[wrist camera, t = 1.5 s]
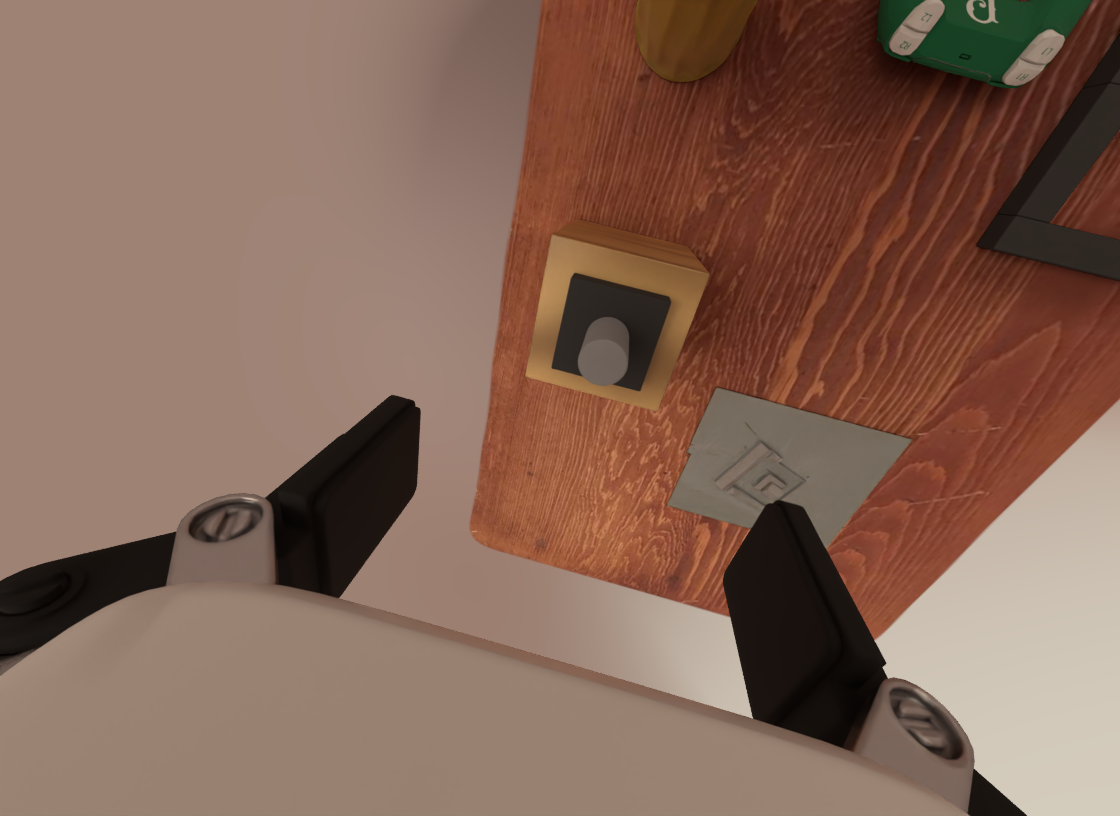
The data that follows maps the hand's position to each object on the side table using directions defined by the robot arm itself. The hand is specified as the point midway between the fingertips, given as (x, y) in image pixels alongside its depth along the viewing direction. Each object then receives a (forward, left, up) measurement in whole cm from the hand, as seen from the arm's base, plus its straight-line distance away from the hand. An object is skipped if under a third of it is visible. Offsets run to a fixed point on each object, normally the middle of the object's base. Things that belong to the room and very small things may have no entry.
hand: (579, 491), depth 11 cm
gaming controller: (-18, +13, -23) cm, 32 cm away
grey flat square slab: (+14, +13, -23) cm, 30 cm away
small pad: (0, 0, -13) cm, 13 cm away
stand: (0, 0, -23) cm, 23 cm away
